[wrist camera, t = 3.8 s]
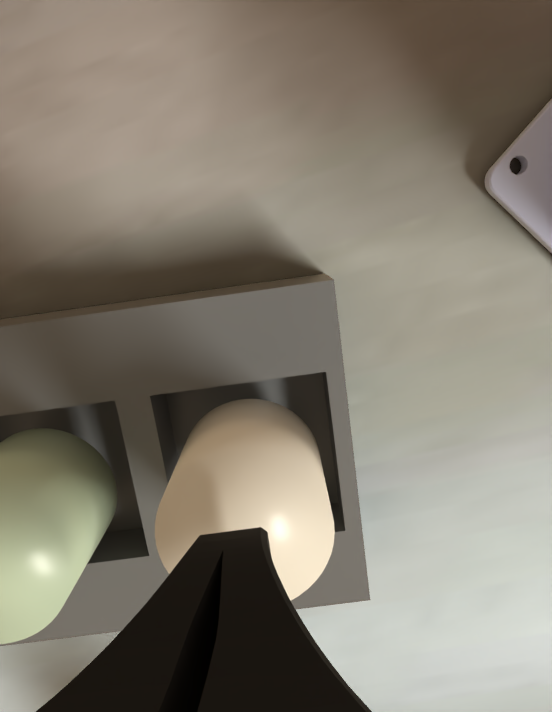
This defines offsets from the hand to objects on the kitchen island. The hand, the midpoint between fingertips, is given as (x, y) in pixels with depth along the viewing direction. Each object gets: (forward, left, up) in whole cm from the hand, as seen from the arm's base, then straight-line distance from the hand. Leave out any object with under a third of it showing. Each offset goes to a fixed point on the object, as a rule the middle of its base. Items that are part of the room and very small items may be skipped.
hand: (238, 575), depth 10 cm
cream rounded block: (0, 0, -5) cm, 5 cm away
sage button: (+4, -4, -5) cm, 8 cm away
